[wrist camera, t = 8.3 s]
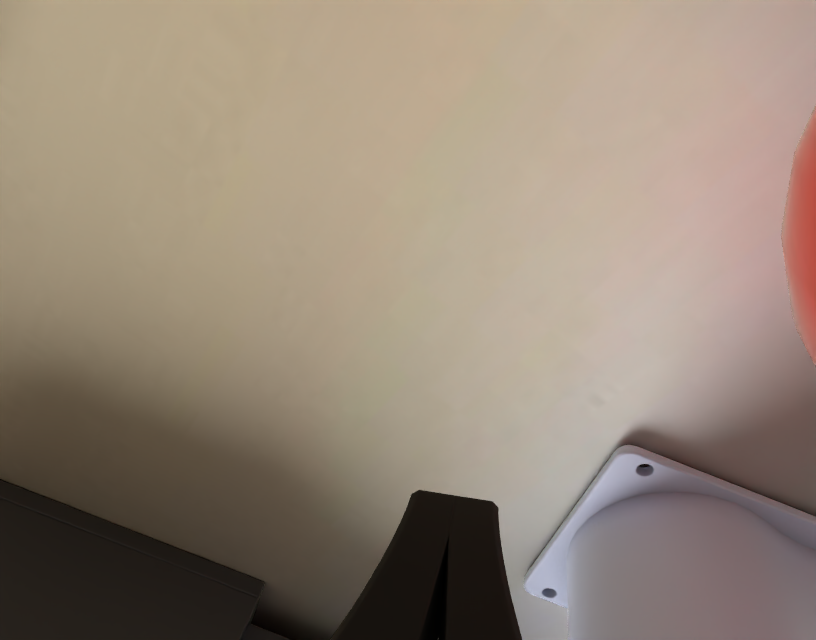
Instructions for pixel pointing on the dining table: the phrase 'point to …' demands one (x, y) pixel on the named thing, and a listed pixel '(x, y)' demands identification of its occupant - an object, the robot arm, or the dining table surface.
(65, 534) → the dark drawer box
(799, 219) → the ball
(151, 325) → the dining table surface
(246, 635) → the drawer
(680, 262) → the dining table surface
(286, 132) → the dining table surface
